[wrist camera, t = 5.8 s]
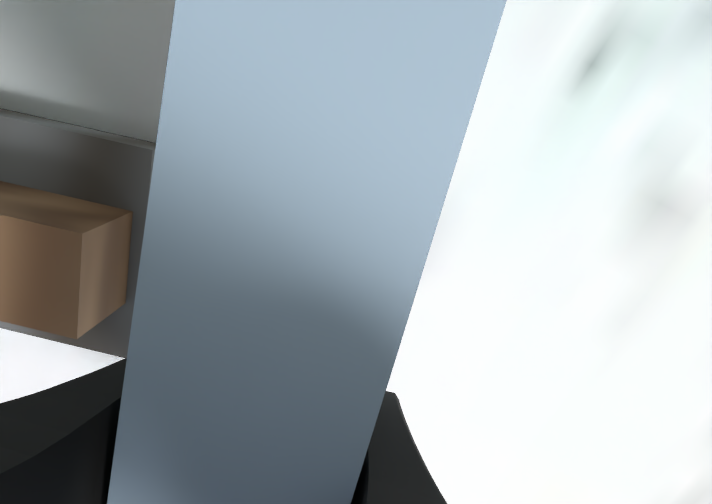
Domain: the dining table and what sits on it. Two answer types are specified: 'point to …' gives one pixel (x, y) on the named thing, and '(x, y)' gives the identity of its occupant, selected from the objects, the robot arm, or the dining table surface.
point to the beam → (287, 239)
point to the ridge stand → (71, 230)
